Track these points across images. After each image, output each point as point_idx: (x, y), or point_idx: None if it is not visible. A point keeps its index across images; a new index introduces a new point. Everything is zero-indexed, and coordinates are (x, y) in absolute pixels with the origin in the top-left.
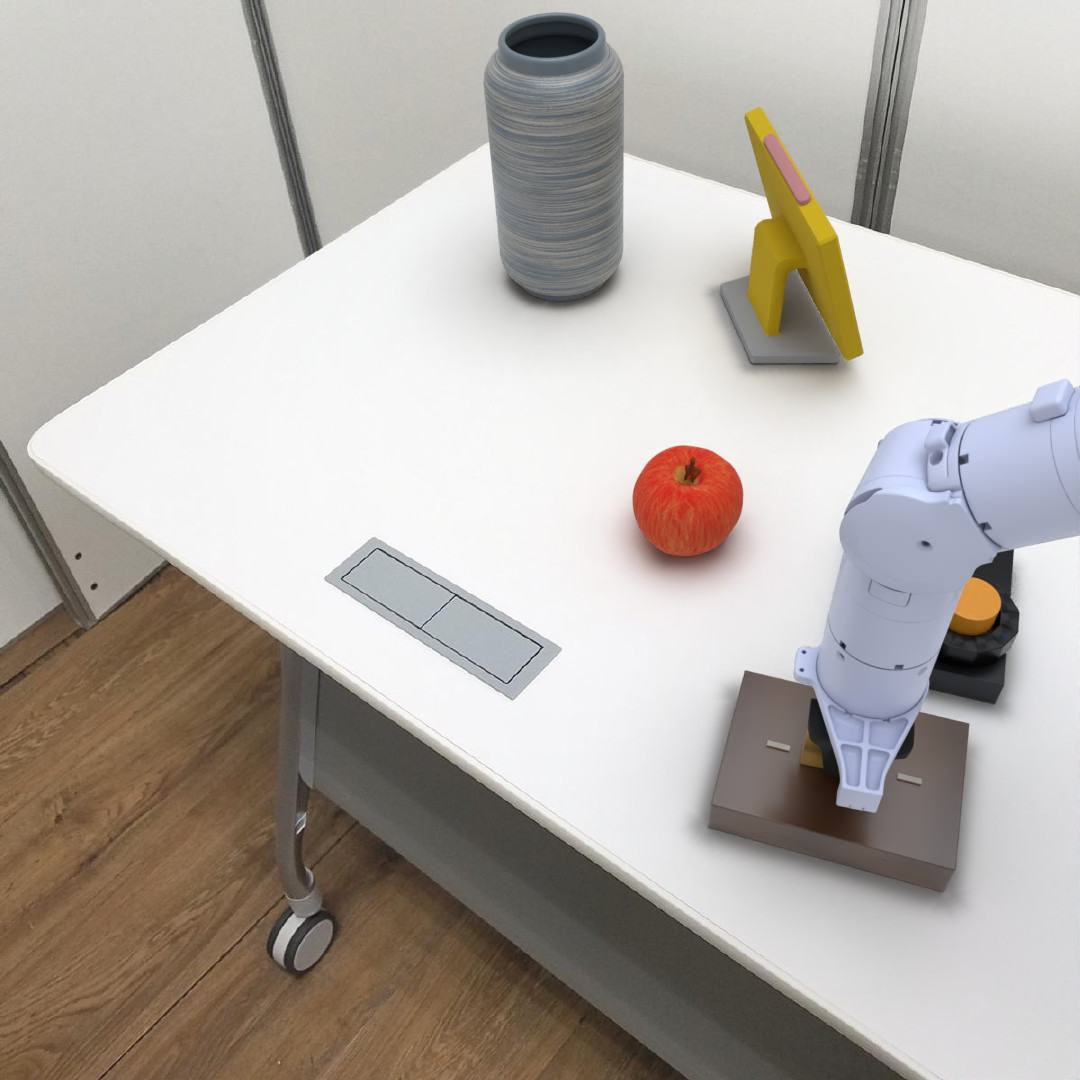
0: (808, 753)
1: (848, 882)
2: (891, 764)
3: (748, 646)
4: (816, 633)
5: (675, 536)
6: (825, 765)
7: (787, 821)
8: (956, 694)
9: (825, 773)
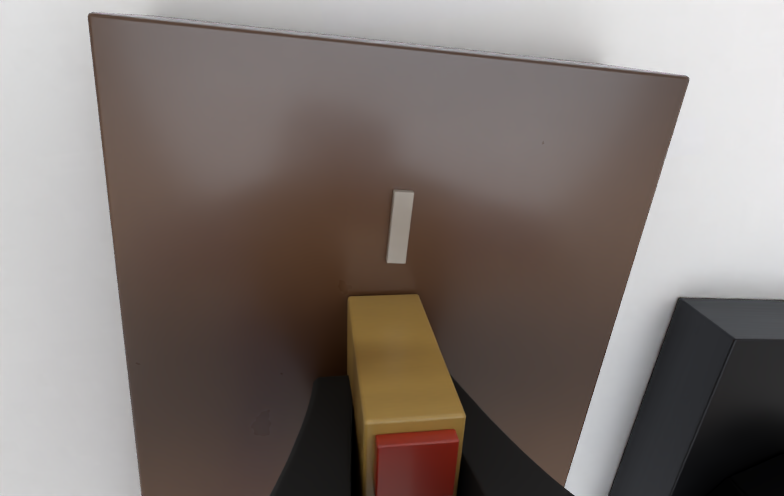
0: (352, 352)
1: None
2: None
3: (761, 67)
4: (778, 235)
5: None
6: (305, 418)
7: (129, 287)
8: (611, 491)
9: (318, 377)
